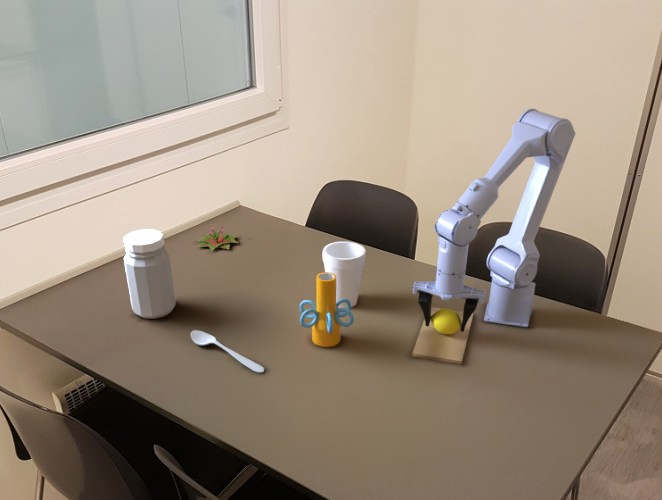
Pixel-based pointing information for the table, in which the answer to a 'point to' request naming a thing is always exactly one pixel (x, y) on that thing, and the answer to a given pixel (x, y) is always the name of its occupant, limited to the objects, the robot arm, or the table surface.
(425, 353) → the birch board
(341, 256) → the foam cup
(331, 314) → the cylinder
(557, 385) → the table surface
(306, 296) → the table surface
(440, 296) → the robot arm
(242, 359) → the spoon
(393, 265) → the table surface
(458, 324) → the lemon
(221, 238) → the lily flower
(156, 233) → the jar
